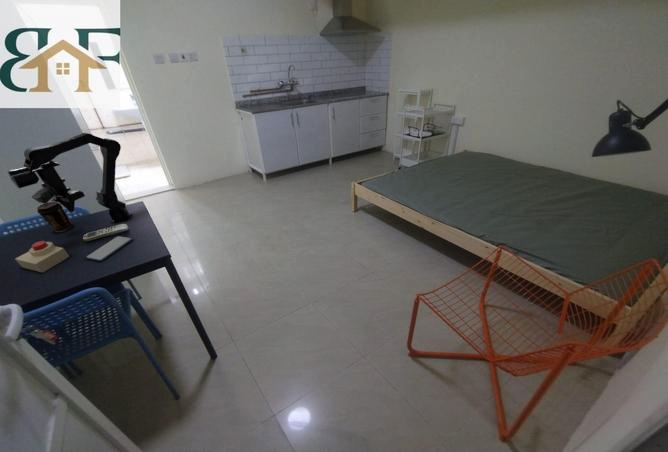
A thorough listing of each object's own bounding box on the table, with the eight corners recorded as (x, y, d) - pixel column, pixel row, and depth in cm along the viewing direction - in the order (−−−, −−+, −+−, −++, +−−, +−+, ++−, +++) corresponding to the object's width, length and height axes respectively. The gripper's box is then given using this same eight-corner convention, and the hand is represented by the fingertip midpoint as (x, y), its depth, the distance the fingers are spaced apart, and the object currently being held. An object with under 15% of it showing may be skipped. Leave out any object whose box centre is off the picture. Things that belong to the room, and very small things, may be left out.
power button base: (49, 252, 118) (40, 239, 115) (69, 256, 115) (60, 244, 112) (22, 267, 110) (11, 254, 107) (42, 272, 107) (32, 259, 104)
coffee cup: (56, 226, 136) (39, 202, 129) (76, 221, 139) (61, 198, 132) (49, 235, 129) (32, 211, 122) (71, 230, 132) (55, 206, 125)
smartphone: (85, 257, 113) (117, 235, 125) (86, 258, 114) (118, 237, 125) (100, 260, 111) (132, 238, 123) (101, 262, 112) (133, 239, 123)
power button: (43, 244, 113) (40, 240, 112) (50, 245, 112) (47, 241, 111) (32, 250, 110) (28, 246, 108) (39, 251, 109) (35, 247, 107)
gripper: (12, 185, 110) (37, 218, 119) (45, 189, 105) (68, 224, 114) (44, 174, 119) (65, 206, 128) (75, 177, 114) (94, 210, 123)
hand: (72, 211), depth 123 cm, fingers closed
